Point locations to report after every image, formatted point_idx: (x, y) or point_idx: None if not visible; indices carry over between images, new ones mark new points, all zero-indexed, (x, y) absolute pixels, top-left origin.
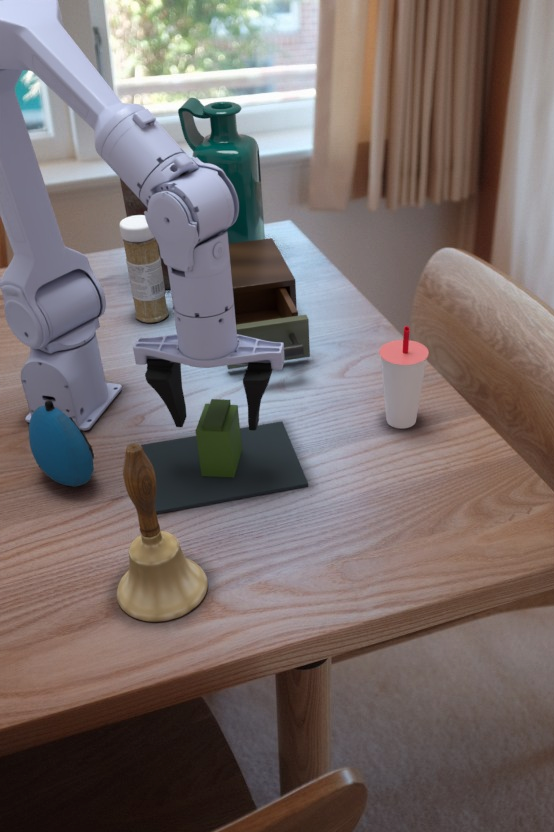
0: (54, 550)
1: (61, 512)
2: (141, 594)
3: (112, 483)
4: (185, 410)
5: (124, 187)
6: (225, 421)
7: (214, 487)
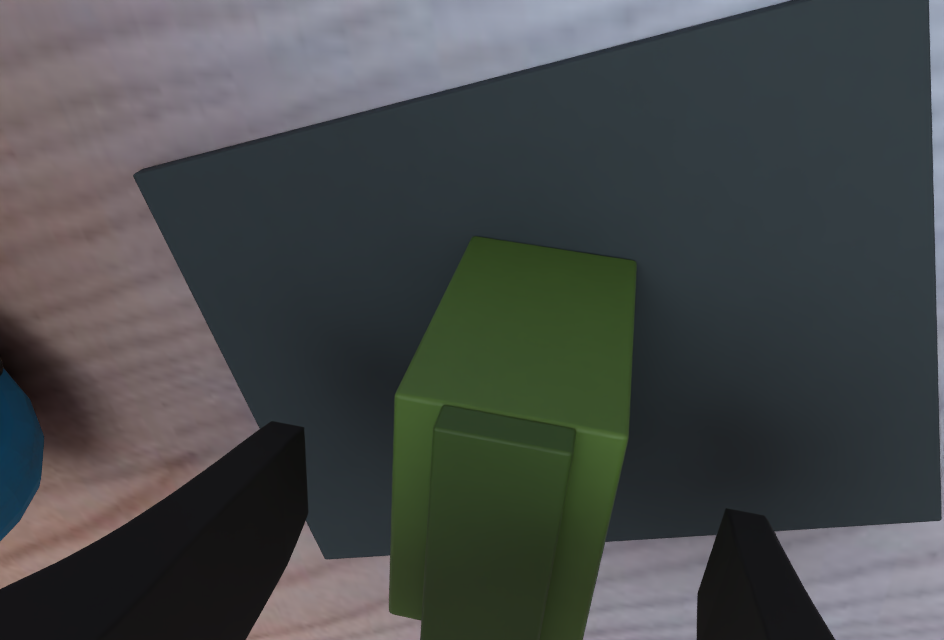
0: None
1: (40, 493)
2: None
3: (127, 385)
4: (285, 459)
5: None
6: (551, 581)
7: None
